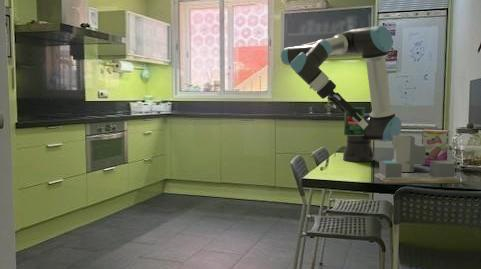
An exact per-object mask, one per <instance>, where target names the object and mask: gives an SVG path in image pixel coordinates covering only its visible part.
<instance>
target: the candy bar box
mask: <svg viewBox="0 0 481 269" xmlns="http://www.w3.org/2000/svg"><path fill="white" fill-rule="evenodd" d="M421 132H422V135H421V136H422V138H421V144H422V145H424V146H426V152H428V153H429V155H426V157H425V164H420V165H421V166H424V167H425V166H427V167H430V161H448V162H450V161H449V159H450V141H451V139H450V138H451V130H444V129H443V130H442V129H441V130H440V129H439V130H438V129H423V130H422V131H421Z"/></svg>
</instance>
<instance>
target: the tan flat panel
mask: <svg viewBox="0 0 481 269" xmlns="http://www.w3.org/2000/svg"><path fill="white" fill-rule="evenodd" d="M375 174H376V176H378V177H380V178H382V179H383V180H431V179H459V177H458V176H456V175H454V177H438V176H435V175H433V174H430V172H414V173H402V175H401V177H384V176H383V175H381V174H379V172H376V173H375Z"/></svg>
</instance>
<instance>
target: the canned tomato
mask: <svg viewBox="0 0 481 269" xmlns="http://www.w3.org/2000/svg"><path fill="white" fill-rule="evenodd" d="M352 107H353V108H354V109H355V110H356V111H357V113H358V114H359V115H360V116H361V117H362V118H363V119H364V120H365V113H366V112H365V109H366V107H361V106H360V107H359V106H352ZM352 112H353V111H352ZM352 112H351V113H352ZM344 113H345V114H343V115H344V118H343V119H344V124H343V125H344V126H343V132H344V133H343V135H344V136H346V137H347V136H364V129H362V128H361V127H360V126H359V125H358V124H357V123H356V122H355V121H354V120H353V119H352V118H350V117H351V116H350V115H349V114H348V113H347V112H346V111H345V112H344Z"/></svg>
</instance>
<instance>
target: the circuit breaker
mask: <svg viewBox="0 0 481 269" xmlns="http://www.w3.org/2000/svg"><path fill="white" fill-rule="evenodd" d="M415 141H416V138H415V137H414V136H413V135H399V136H397V135H395V136H394V135H393V139H392V141H391V146H392V148H393V158H391V161H396V162H398V163H401V164H402V172H414V173H415V165H421V164H425V157H426V155H429V153H428V152H426V146H424V145H422V143H421V144H420V143H419V144H417V143H416V142H415ZM415 143H416V144H415Z"/></svg>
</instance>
